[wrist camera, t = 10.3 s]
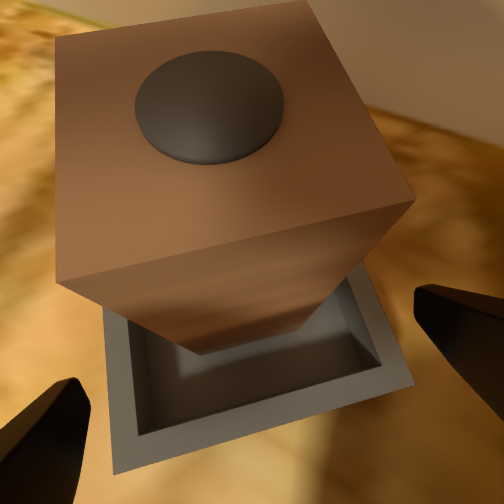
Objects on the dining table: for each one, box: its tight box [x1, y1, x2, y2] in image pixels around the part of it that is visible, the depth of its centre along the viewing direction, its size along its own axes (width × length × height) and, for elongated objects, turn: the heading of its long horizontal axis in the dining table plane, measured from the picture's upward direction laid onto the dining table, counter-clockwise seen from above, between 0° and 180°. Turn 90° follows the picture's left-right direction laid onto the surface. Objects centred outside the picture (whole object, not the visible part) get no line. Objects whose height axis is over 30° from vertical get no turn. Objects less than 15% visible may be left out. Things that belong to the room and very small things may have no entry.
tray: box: [102, 260, 416, 475], centre depth 15 cm, size 12×12×3 cm
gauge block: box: [55, 0, 416, 356], centre depth 10 cm, size 5×5×12 cm
